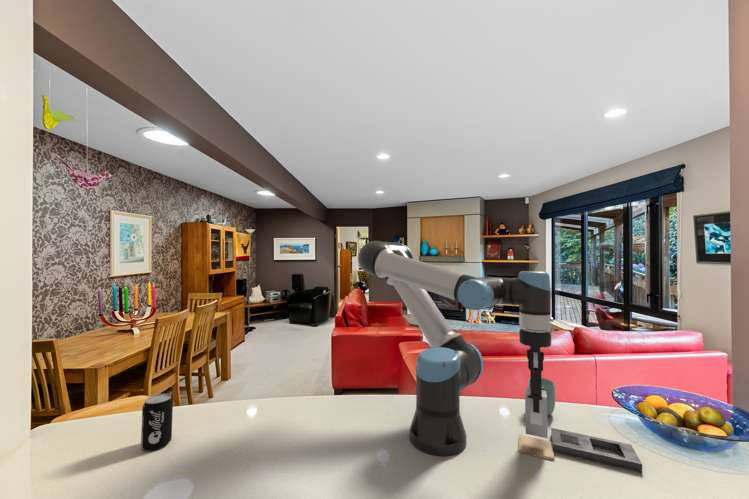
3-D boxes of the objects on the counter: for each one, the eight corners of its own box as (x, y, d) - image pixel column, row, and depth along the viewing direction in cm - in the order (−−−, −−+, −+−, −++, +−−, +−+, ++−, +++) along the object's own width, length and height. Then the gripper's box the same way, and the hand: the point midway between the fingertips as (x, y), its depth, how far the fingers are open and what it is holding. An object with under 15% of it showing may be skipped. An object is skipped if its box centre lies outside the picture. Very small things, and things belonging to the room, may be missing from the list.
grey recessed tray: (553, 452, 82) (553, 443, 82) (551, 435, 90) (551, 427, 90) (642, 473, 74) (642, 463, 74) (631, 452, 82) (631, 444, 82)
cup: (559, 419, 99) (558, 387, 99) (532, 417, 100) (531, 384, 101) (550, 408, 106) (550, 378, 107) (525, 406, 108) (525, 376, 108)
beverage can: (177, 441, 84) (178, 395, 85) (150, 455, 79) (152, 405, 79) (161, 435, 87) (163, 391, 88) (135, 448, 81) (136, 400, 82)
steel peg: (525, 433, 82) (525, 394, 83) (525, 424, 87) (525, 387, 87) (547, 438, 80) (546, 398, 81) (546, 429, 85) (546, 390, 85)
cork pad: (518, 451, 82) (518, 449, 82) (519, 436, 89) (519, 434, 89) (554, 460, 78) (554, 458, 78) (552, 444, 85) (552, 441, 85)
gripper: (553, 338, 75) (554, 439, 74) (549, 324, 91) (550, 408, 90) (518, 334, 78) (519, 431, 77) (520, 322, 94) (521, 402, 93)
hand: (536, 418), depth 84 cm, fingers closed on steel peg, 5 cm apart
